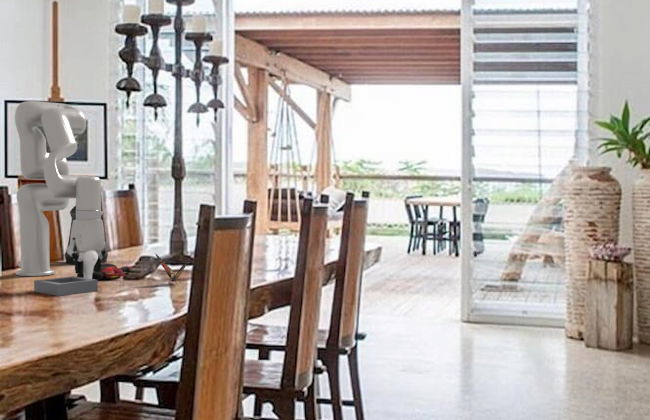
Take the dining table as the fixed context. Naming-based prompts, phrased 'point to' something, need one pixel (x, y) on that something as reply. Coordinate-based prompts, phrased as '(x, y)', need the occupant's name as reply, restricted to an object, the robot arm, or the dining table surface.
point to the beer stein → (67, 257)
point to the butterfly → (169, 271)
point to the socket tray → (65, 285)
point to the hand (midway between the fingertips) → (88, 272)
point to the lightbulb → (89, 263)
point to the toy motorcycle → (108, 272)
